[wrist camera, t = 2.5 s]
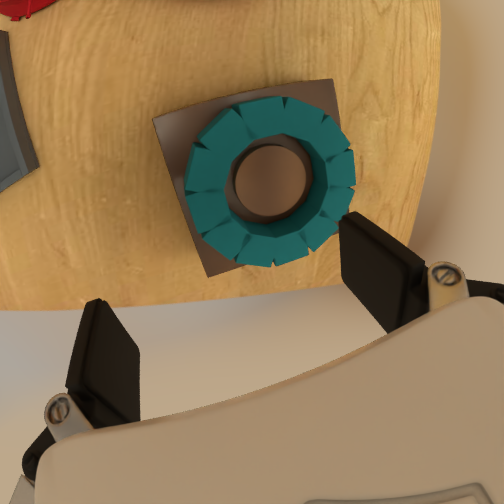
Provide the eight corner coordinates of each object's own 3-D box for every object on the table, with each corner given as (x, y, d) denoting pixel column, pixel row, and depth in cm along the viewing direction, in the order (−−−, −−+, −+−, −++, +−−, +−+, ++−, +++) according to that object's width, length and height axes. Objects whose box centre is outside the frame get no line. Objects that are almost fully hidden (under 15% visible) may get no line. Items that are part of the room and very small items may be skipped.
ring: (327, 87, 16) (344, 87, 14) (343, 225, 22) (358, 237, 20) (164, 124, 15) (162, 126, 13) (213, 269, 21) (217, 286, 19)
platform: (307, 80, 19) (339, 78, 15) (327, 210, 26) (355, 233, 22) (156, 116, 18) (150, 119, 14) (202, 252, 24) (209, 284, 20)
